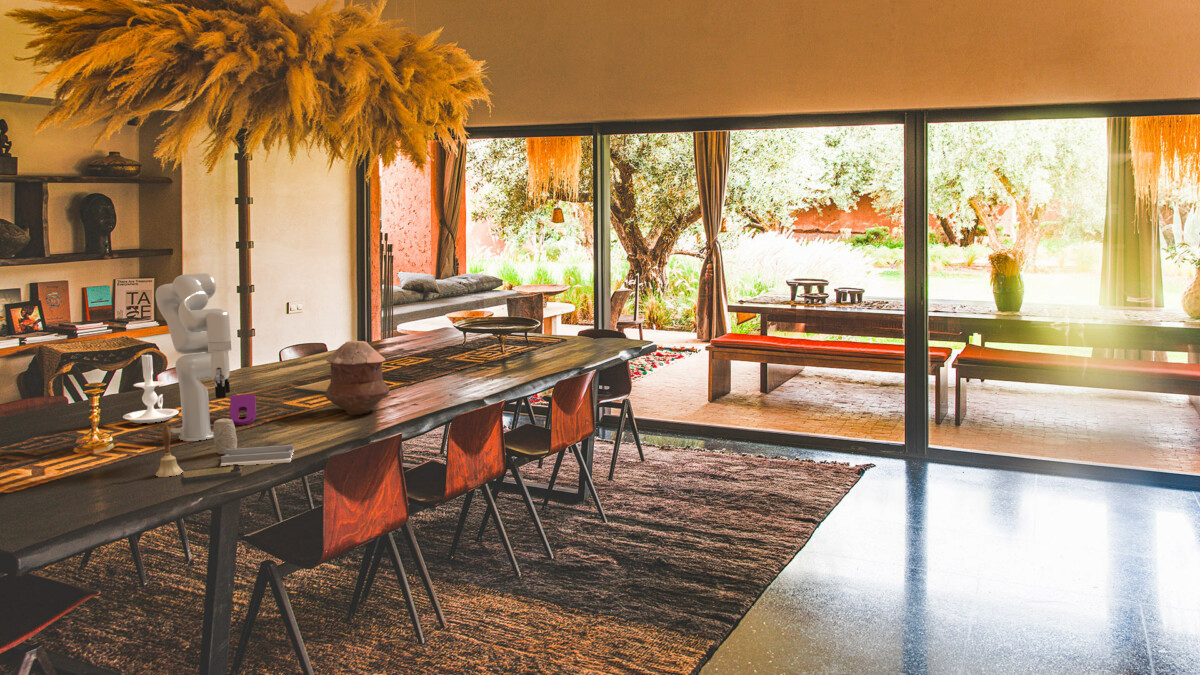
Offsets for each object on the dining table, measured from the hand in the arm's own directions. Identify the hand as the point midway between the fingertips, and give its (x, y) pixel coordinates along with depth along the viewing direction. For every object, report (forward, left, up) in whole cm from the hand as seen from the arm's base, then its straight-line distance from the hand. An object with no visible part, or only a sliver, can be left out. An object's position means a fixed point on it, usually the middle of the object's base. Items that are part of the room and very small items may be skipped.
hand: (223, 395), depth 325 cm
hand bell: (-14, -23, -21) cm, 34 cm away
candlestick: (-37, +64, -21) cm, 77 cm away
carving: (0, 0, -21) cm, 21 cm away
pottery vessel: (+44, +57, -21) cm, 75 cm away
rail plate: (+12, -12, -21) cm, 27 cm away
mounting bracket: (-1, +53, -21) cm, 57 cm away
